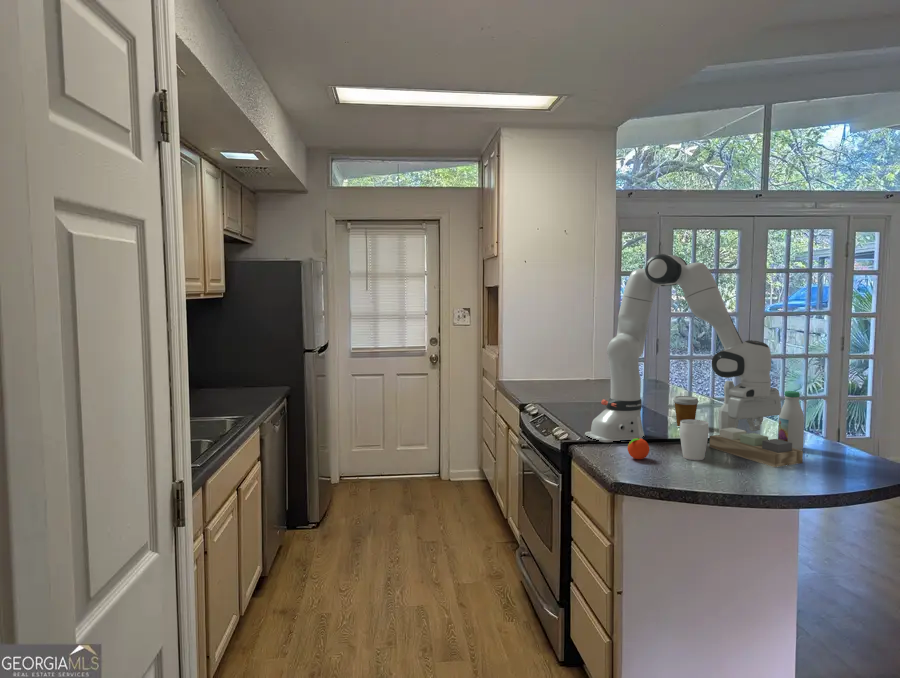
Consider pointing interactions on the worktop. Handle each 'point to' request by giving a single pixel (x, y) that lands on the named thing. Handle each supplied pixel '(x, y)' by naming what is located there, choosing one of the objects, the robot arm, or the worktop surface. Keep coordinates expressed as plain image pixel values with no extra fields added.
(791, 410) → the milk bottle
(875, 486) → the worktop surface
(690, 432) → the cup
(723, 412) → the faceted bottle
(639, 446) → the clementine
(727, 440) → the oak key console
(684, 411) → the disposable coffee cup
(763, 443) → the charcoal key
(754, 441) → the sage green key
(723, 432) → the off-white key
